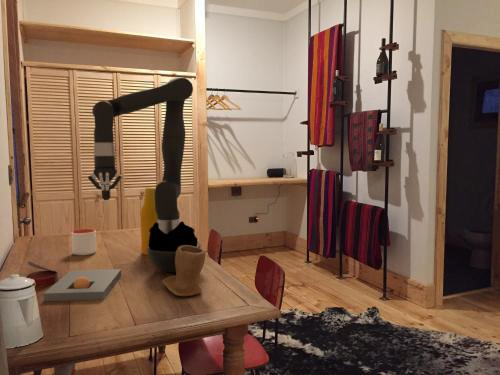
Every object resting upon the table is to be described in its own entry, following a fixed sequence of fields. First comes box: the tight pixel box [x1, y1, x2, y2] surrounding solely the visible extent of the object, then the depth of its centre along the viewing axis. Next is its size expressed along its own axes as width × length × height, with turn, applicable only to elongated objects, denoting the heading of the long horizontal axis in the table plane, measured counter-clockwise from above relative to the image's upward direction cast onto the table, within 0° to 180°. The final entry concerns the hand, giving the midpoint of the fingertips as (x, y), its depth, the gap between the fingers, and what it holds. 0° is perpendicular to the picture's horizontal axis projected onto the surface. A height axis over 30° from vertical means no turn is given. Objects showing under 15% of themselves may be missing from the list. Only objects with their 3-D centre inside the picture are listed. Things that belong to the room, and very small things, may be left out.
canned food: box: [26, 260, 59, 288], centre depth 149 cm, size 11×10×10 cm
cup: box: [71, 228, 97, 256], centre depth 188 cm, size 10×10×10 cm
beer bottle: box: [139, 187, 157, 256], centre depth 187 cm, size 9×9×29 cm
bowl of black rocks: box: [147, 220, 201, 273], centre depth 160 cm, size 20×20×19 cm
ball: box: [74, 277, 90, 289], centre depth 139 cm, size 5×5×5 cm
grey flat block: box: [43, 268, 122, 302], centre depth 143 cm, size 18×24×2 cm
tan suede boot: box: [162, 245, 206, 297], centre depth 139 cm, size 15×12×15 cm
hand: (106, 199), depth 162 cm, fingers closed
